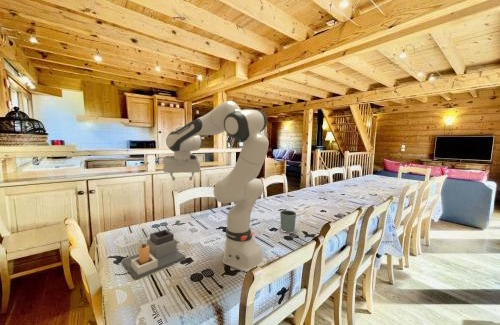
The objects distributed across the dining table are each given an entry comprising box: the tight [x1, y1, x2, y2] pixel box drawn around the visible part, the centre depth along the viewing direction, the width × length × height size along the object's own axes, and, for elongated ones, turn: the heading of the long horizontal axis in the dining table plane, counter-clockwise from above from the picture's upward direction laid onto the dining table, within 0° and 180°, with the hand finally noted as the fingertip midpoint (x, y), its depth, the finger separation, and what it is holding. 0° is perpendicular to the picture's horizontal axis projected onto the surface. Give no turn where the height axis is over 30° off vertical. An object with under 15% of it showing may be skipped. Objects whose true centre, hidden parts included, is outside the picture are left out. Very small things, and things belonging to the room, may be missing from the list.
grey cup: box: [280, 209, 297, 233], centre depth 139 cm, size 10×10×12 cm
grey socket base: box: [121, 228, 186, 281], centre depth 99 cm, size 17×22×10 cm
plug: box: [138, 243, 150, 265], centre depth 92 cm, size 4×4×10 cm
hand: (182, 180), depth 123 cm, fingers open, 8 cm apart
